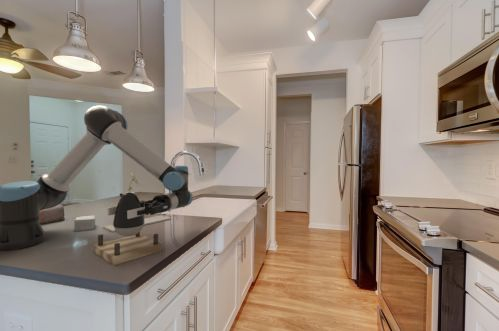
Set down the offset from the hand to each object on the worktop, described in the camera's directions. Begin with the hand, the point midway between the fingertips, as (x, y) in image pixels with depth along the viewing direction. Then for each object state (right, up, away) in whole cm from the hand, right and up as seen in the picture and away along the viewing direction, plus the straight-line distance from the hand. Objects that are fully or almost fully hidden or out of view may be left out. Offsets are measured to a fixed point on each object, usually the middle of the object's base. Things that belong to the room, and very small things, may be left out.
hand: (117, 213), depth 85 cm
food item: (-57, -13, +40) cm, 71 cm away
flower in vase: (-22, -13, +55) cm, 60 cm away
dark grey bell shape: (+2, -9, +4) cm, 10 cm away
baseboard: (-12, -14, +42) cm, 46 cm away
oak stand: (+1, -15, +5) cm, 15 cm away
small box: (-32, -13, +32) cm, 47 cm away
